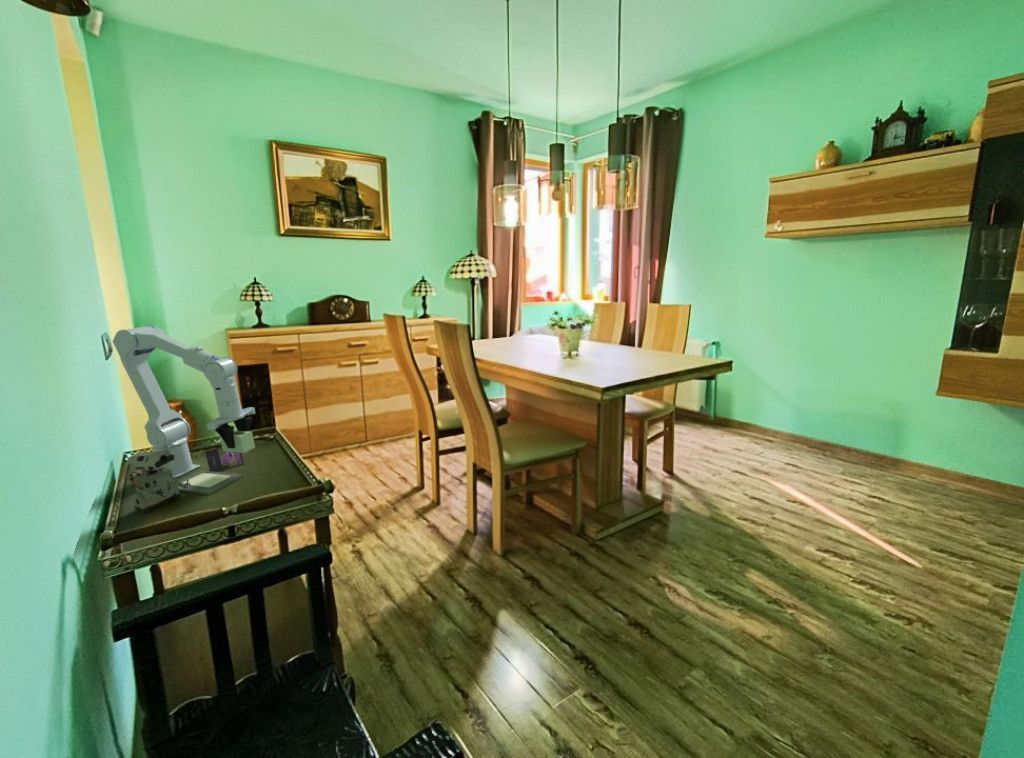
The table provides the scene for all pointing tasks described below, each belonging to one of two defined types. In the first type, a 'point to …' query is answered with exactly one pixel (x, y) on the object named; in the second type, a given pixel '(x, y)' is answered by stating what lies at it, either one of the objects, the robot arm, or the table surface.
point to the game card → (227, 458)
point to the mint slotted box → (240, 442)
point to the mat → (208, 481)
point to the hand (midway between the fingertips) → (238, 444)
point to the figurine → (153, 478)
